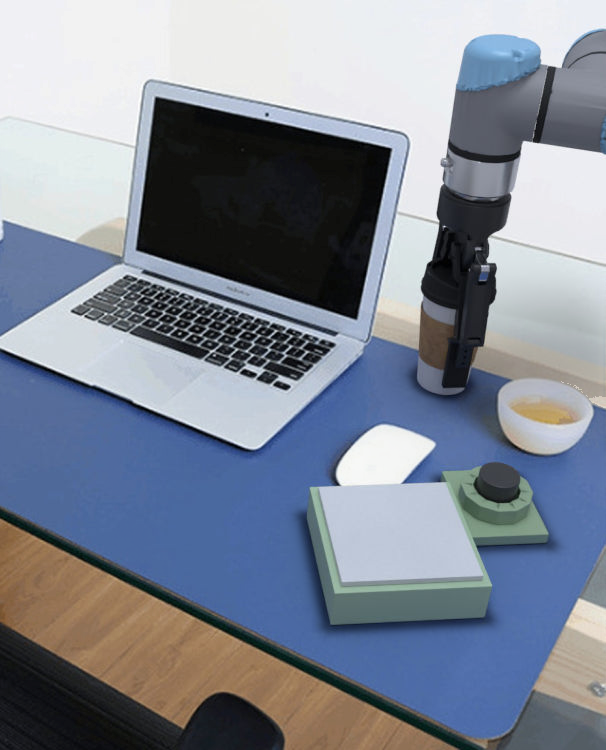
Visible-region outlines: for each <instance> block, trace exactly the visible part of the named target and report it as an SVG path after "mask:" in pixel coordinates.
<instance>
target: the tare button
mask: <svg viewBox="0 0 606 750" xmlns="http://www.w3.org/2000/svg"><path fill="white" fill-rule="evenodd" d="M481 466H482V467H481V468H480V471H479V475H478V480H477V484H476V489H477V491H478V493H479V494H480V495H481V496H482V497H483V498H485V499H486V500H489V501H492V502H495V503H508V502H510V501H512V500H514V499H515V497H516V496H517V492H518V488H519V484H520V480H521V478H520V476H521V475H520V473H519V471H518V469H517V468H515V467H514V466H512V465H510V464H508V463H504V462H501V461H490V462H487V463H484V464H483V465H481Z"/></svg>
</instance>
